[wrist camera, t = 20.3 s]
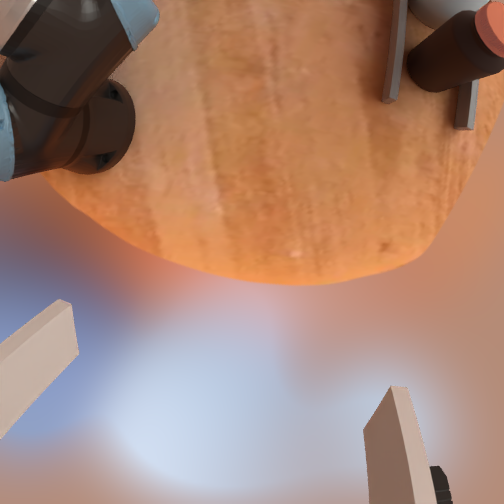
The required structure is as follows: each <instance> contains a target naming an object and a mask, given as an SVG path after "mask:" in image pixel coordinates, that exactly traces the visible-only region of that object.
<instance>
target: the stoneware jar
mask: <svg viewBox="0 0 504 504" xmlns="http://www.w3.org/2000/svg"><path fill="white" fill-rule="evenodd" d="M487 2H489V0H408V5H409V7H410V9H411V11H412V13H413V14H414V15H415V16H416V18H417V19H419V20H420V21H421V22H422V23H423V24H425V25H426V26H428V27H430V28H432V29H435V30H437V29H438V28H439V27H440V26H441V25H443V24H444V23H445V22H446V21H448V20H449V19H450V18H451V17H453V16H454V15H455V14H457V13H458V12H460V11H462V10H472V11H476V10H478V9H479V8H481V7H482V6H483V5H485V4H486V3H487Z"/></svg>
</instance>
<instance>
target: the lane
mask: <svg viewBox="0 0 504 504" xmlns="http://www.w3.org/2000/svg"><path fill="white" fill-rule="evenodd" d="M407 2H408V0H393V14H392V25H391V35H390V44H389V53H388V61H387V69H386V76H385V83H384V89H383V95H382V102H384V103H387V104H390V103H392V102H394V101H396V100H397V99H398V92H399V85H400V78H401V70H402V62H403V53H404V44H405V33H406V20H407ZM478 10H479V9H478ZM478 10H476V11H475V12H477V11H478ZM478 85H479V79H477V80H474V81H471V82H468V83H465V84H462V85H459V94H458V102H457V110H456V117H455V124H454V128H455V129H457V130H473V129H474V122H475V114H476V106H477V96H478Z"/></svg>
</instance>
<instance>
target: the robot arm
mask: <svg viewBox="0 0 504 504" xmlns="http://www.w3.org/2000/svg"><path fill="white" fill-rule="evenodd" d="M159 17H160V14H159V10H158V8H157V6H156V5H155V4H154V2H153V1H152V0H0V54H1V55H4V56H6V57H7V58H6V60H5V62H4V63H3V65H2V67H1V68H0V181H4V182H6V181H9V180H10V179H14V178H18V177H22V176H25V175H30V174H34V173H38V172H43V171H47V170H52V169H57V168H63V169H66V170H69V171H72V172H76V173H79V174H94V173H99V172H103V171H106V170H108V169H110V168H111V167H113V166H114V165H115V164H117V163H118V162H119V161H120V160H121V158H122V157H123V156H124V154H125V153H126V151H127V149H128V148H129V145H130V143H131V141H132V137H133V134H134V129H135V109H134V105H133V101H132V99H131V97H130V95H129V93H128V92H127V90H126V89H125V88H124V87H123V86H122V85H121V84H119V83H118V82H116V81H114V80H110V79H107V78H108V77H109V76H110V75H111V74H112V73H113V72H114V70H115V69H116V68H117V67H118V66H119V65H120V64H121V63H122V62H123V61H124V60H125V59H126V58H127V56H128V55H129V54H130V53H131V52H132V51H135V50H136V49H137V47H138V44H139V43H140V42H141V41H142V40H143V39H144V38H145V37H146V36H147V35H148V34H149V33H150V32H151V31H152V30H153V29H154V28H155V27H156V25H157V24H158V21H159ZM71 305H72V304H70V303H67V302H65V301H63V300H60V299H58V300H57V301H55V302H54V303H53V304H51V305H50V306H49V307H47V308H46V309H45V310H43V311H42V312H41V313H39V314H38V315H37V316H35V317H34V318H33V319H31V320H30V321H29V322H28V323H26V324H25V325H24V326H22V327H21V328H20V329H18V330H17V331H16V332H15V333H13V334H12V335H11V336H10V337H8V338H7V339H6V340H5V341H3V342H2V343H1V344H0V440H1V438H2V437H3V436H4V435H5V434H6V433H7V431H8V430H9V429H10V428H11V427H12V426H13V425H14V423H15V422H16V421H17V420H18V419H19V417H21V416H22V414H23V413H24V412H25V411H26V410H27V409H28V408H29V407H30V405H31V404H32V403H33V402H34V401H35V400H36V399H37V398H38V397H39V396H40V395H41V393H42V392H43V391H44V390H45V389H46V388H47V387H48V386H49V385H50V384H51V383H52V382H53V381H54V380H55V378H56V377H57V376H58V375H59V374H60V373H61V372H62V371H63V370H64V369H65V368H66V367H67V366H68V365H69V363H71V362H72V360H74V359H75V357H76V356H77V355H78V354H79V349H78V344H77V338H76V332H75V326H74V319H73V313H72V306H71ZM363 432H364V441H365V451H366V461H367V473H368V486H369V503H370V504H453V502H452V501H451V493H450V491H449V484H448V480H447V476H446V475H445V474H444V472H443V471H442V469H441V468H440V466H431V467H429V464H428V459H427V455H426V451H425V447H424V443H423V440H422V436H421V432H420V428H419V425H418V422H417V418H416V414H415V411H414V408H413V404H412V401H411V398H410V395H409V391H408V388H407V387H396V386H390V388H389V389H388V391H387V393H386V395H385V396H384V398H383V400H382V401H381V403H380V404H379V406H378V408H377V409H376V411H375V412H374V414H373V416H372V417H371V419H370V420H369V422H368V423H367V425H366V426H365V428H364V429H363Z"/></svg>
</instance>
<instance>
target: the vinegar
mask: <svg viewBox="0 0 504 504" xmlns="http://www.w3.org/2000/svg"><path fill="white" fill-rule="evenodd" d="M407 67H408V71H409V74H410V76H411V78H412V79H413V80H414V82H415V83H416V84H417V85H418V86H420V87H421V88H422V89H424V90H427V91H429V92H441V91H444V90H447V89H450V88H453V87H456V86H459V85H462V84H465V83H468V82H471V81H474V80H477V79H480V78H483V77H487V76H490V75H493V74H496V73H499V72H500V71H502V70H503V69H504V4H502V3H499V2H496V1H495V2H490V3H488V4H487V5H485V6H484V7H483V8H481V9H480V10H478V11H477V12H475V11H472V10H462V11H460V12H458V13H457V14H455V15H454V16H453V17H451V18H450V19H449V20H448V21H446V22H445V23H444V24H443V25H441V26H440V27H439V28H438V29H437V30H435V31H434V32H433V33H432V34H431V35H429V36H428V37H427V38H426V39H425V40H423V41H422V42H421V43H420V44H419V45H417V46H416V47H415V48H414V49H413V50H412V51H411V52H410V54H409V55H408V59H407Z"/></svg>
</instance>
